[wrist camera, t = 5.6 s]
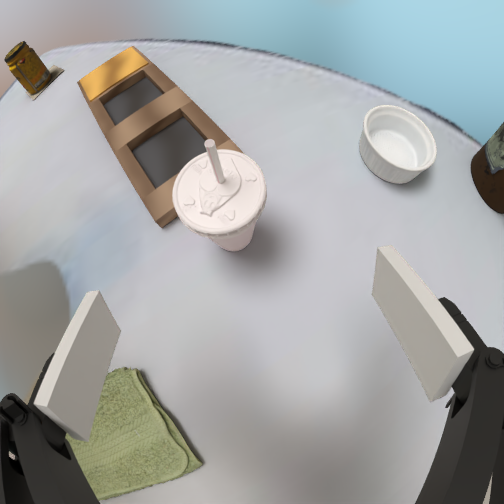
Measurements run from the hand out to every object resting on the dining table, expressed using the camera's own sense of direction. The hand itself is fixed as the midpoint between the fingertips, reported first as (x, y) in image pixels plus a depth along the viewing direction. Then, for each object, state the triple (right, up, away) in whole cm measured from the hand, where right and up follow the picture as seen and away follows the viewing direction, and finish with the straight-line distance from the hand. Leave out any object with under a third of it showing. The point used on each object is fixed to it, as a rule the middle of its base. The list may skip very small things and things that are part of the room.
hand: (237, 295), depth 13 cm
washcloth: (-14, -19, +11) cm, 26 cm away
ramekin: (+17, +13, +17) cm, 27 cm away
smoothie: (-1, +4, +15) cm, 16 cm away
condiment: (-42, +37, +26) cm, 61 cm away
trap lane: (-14, +20, +20) cm, 31 cm away
